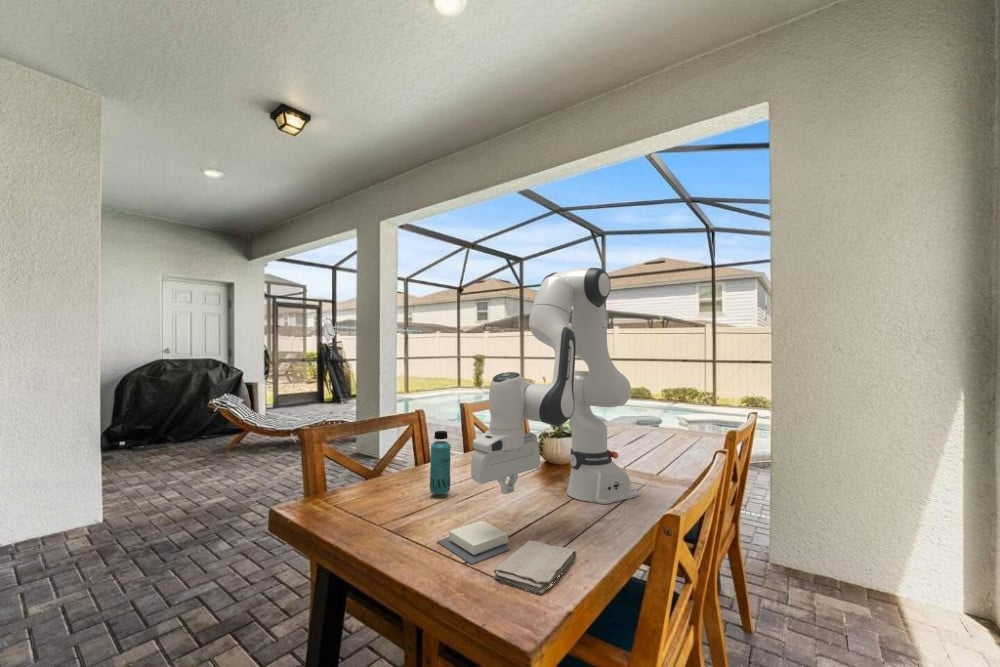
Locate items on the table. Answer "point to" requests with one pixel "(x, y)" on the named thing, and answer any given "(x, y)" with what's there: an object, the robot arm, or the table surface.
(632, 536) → the table surface
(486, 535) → the tile
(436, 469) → the beverage bottle
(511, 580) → the washcloth
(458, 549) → the mat
